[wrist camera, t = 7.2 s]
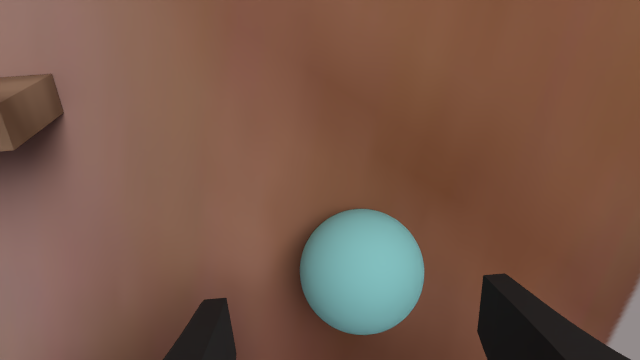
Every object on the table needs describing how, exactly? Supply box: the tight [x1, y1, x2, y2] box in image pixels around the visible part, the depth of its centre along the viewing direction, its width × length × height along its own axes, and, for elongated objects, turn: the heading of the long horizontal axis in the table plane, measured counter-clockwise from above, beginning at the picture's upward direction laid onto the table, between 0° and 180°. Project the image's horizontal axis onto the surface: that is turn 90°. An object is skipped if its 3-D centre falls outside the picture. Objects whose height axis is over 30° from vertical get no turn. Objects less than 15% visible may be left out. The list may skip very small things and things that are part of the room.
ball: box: [300, 209, 424, 335], centre depth 16 cm, size 4×4×4 cm
